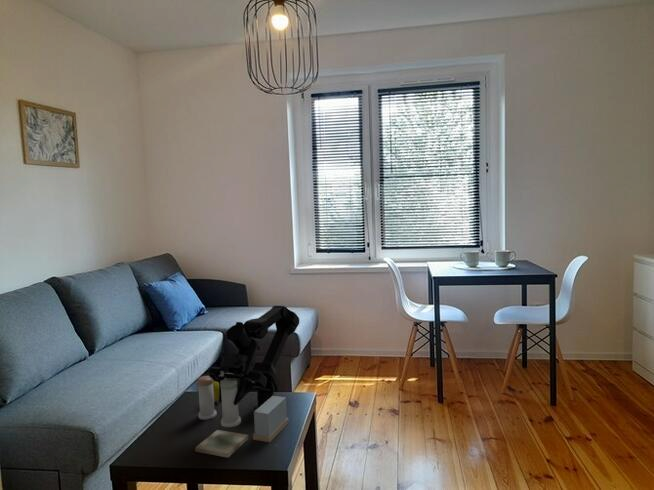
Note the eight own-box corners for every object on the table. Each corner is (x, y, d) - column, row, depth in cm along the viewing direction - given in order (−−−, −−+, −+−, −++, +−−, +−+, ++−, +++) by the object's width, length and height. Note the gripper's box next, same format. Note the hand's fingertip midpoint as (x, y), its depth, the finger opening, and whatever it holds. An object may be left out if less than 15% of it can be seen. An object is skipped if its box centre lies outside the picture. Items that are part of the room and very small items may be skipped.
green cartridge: (222, 418, 142) (220, 378, 141) (242, 417, 143) (240, 376, 142) (219, 427, 136) (217, 385, 135) (239, 426, 137) (237, 384, 136)
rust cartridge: (205, 410, 159) (203, 374, 158) (220, 413, 157) (218, 376, 156) (194, 418, 153) (192, 380, 152) (209, 420, 151) (207, 382, 150)
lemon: (207, 406, 162) (205, 384, 162) (206, 400, 168) (205, 379, 167) (223, 404, 164) (221, 382, 163) (222, 398, 169) (221, 377, 168)
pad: (217, 433, 142) (217, 429, 142) (248, 438, 138) (248, 434, 138) (195, 451, 132) (195, 447, 132) (228, 457, 128) (227, 453, 128)
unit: (273, 420, 150) (272, 395, 149) (288, 422, 148) (287, 397, 147) (253, 439, 138) (251, 412, 137) (269, 442, 136) (268, 414, 135)
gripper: (208, 341, 145) (188, 389, 135) (260, 346, 138) (243, 396, 129) (224, 358, 153) (206, 403, 143) (274, 363, 146) (258, 411, 137)
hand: (227, 403), depth 138 cm, fingers closed on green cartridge, 5 cm apart
